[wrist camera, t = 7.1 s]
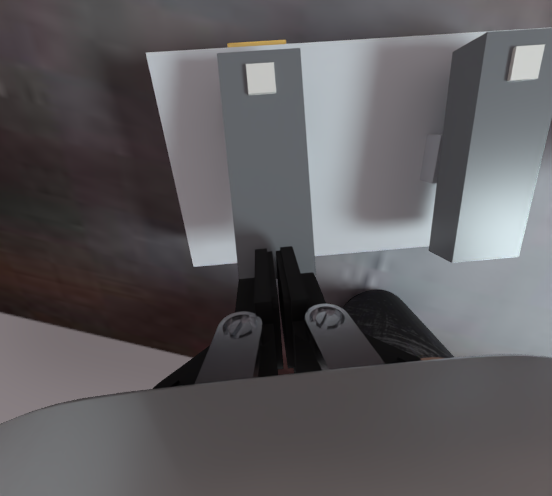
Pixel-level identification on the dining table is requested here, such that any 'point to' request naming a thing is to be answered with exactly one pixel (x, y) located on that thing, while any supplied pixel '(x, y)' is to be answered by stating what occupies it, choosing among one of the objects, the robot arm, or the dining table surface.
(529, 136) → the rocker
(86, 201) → the dining table surface
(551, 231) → the dining table surface
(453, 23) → the dining table surface
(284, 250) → the robot arm
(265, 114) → the block
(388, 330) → the travel mug
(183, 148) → the switch housing
